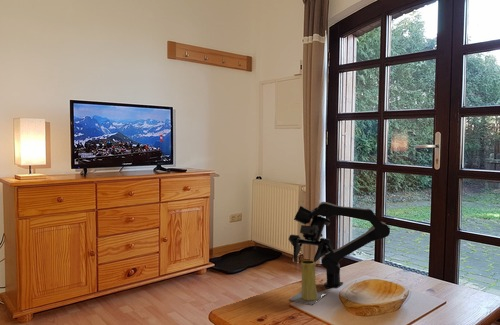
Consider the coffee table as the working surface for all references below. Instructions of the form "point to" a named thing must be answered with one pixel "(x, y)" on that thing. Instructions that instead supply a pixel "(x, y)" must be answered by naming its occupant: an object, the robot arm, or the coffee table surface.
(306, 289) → the vase
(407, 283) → the coffee table surface
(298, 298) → the mat
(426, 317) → the coffee table surface
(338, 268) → the robot arm
